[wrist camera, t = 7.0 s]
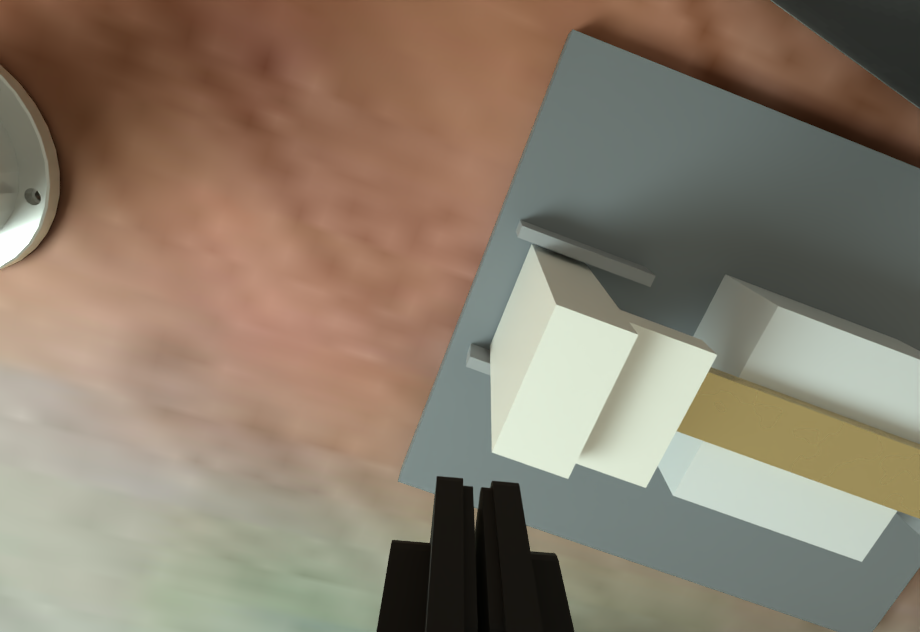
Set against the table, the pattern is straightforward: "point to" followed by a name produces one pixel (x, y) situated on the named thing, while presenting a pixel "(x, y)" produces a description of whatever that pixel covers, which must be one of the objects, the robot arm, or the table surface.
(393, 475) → the table surface
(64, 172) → the table surface
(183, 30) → the table surface
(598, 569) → the table surface
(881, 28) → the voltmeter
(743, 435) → the wooden building block
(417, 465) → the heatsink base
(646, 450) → the block
